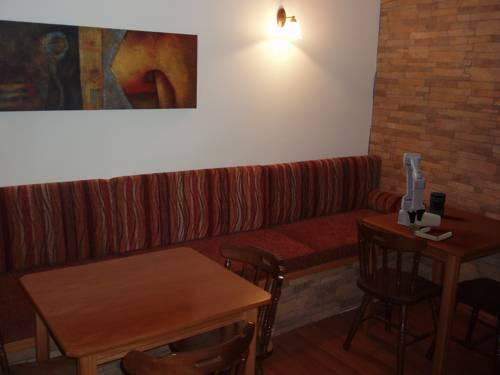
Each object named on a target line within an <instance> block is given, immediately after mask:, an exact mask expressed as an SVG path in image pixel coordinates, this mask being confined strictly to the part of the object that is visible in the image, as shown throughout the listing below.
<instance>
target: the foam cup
mask: <svg viewBox="0 0 500 375" xmlns="http://www.w3.org/2000/svg"><path fill="white" fill-rule="evenodd" d="M415 224H417V225H421V227H440V226H441V225H440V224H441V218H440V216H439V215H435V214H431V213H428V212H426V211H425V213H424V214H423V217H422V219H421V221H417V215H416V217H415Z"/></svg>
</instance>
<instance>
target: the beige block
mask: <svg viewBox="0 0 500 375" xmlns="http://www.w3.org/2000/svg"><path fill="white" fill-rule="evenodd" d="M408 227H409V229H408V233H411V234H414V232H415V231H418V230H421V227H422V226H421V225H417V224H411V225H410V226H408Z"/></svg>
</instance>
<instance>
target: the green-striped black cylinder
mask: <svg viewBox="0 0 500 375" xmlns="http://www.w3.org/2000/svg"><path fill="white" fill-rule="evenodd" d="M429 194H430V196H429V205H428V206H429V207H428V212H427V213H431V214H435V215H439V216H440V219H441V218H444V215H445V203H446V196H447V194H446V193H444V192H439V191H433V192H432V191H431V192H430V193H429Z"/></svg>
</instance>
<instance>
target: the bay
mask: <svg viewBox="0 0 500 375" xmlns="http://www.w3.org/2000/svg"><path fill="white" fill-rule="evenodd" d="M431 227H432V226H426V227H424V228H420V230H418V231H415V232H414V233H413V235H414V236H417V237H420V238H424V239H428V240H430V241H431V240H432V241H435V242H439V241H441V240H445V239H447V238H450V237H451V236H452V235H453V234H452V233H453V232H451V231H449V232H446V233H444V234H440V235H438V236H435V235H431V234H428V233H427V232H430V231H431Z"/></svg>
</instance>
